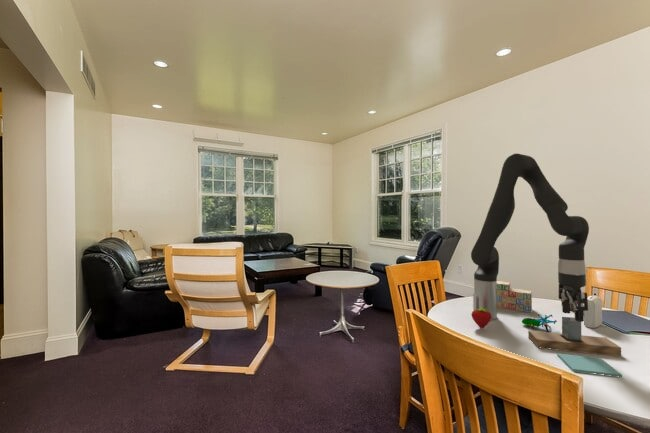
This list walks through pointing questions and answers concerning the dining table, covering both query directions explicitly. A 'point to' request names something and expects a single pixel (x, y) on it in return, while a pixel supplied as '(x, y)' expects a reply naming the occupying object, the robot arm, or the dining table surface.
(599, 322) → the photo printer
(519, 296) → the stack of blocks
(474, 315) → the strawberry
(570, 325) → the steel plug
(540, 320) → the stick construction toy
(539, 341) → the brown slotted block
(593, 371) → the teal pad
